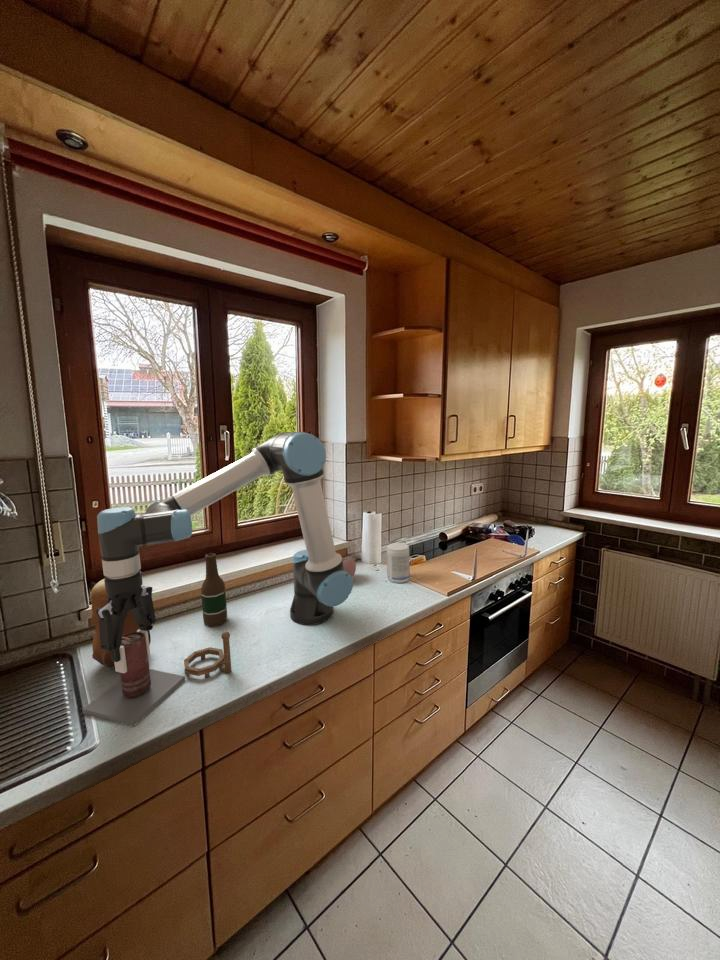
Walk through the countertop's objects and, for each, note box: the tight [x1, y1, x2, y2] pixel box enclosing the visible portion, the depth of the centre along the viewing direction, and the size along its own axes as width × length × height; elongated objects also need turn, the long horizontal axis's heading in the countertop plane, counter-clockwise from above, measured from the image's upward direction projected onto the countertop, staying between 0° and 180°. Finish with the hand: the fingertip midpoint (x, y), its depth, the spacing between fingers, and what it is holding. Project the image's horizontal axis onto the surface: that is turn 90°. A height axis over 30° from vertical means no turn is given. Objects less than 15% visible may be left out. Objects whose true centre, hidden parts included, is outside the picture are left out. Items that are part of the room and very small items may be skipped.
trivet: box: [81, 668, 186, 727], centre depth 94 cm, size 15×16×1 cm
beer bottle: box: [200, 552, 228, 628], centre depth 128 cm, size 8×8×24 cm
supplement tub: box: [386, 542, 411, 584], centre depth 161 cm, size 10×10×15 cm
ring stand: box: [183, 631, 232, 679], centre depth 104 cm, size 14×10×12 cm
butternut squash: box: [90, 578, 152, 668], centre depth 106 cm, size 14×13×25 cm
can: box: [119, 632, 151, 698], centre depth 93 cm, size 6×6×14 cm
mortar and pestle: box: [343, 557, 357, 578], centre depth 161 cm, size 12×12×11 cm
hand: (133, 662), depth 93 cm, fingers closed on can, 6 cm apart
